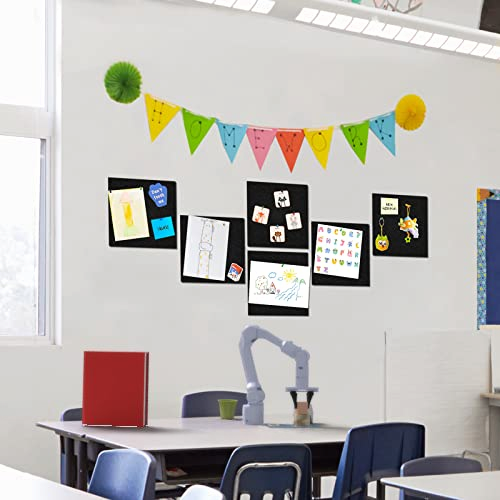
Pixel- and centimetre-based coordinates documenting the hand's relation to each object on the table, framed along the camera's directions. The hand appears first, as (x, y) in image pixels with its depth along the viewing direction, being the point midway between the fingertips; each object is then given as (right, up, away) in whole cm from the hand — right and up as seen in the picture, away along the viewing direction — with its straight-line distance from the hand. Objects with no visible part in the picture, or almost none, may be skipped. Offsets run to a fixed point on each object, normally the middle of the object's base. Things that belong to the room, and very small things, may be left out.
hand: (301, 408), depth 445 cm
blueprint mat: (-4, -8, -3) cm, 9 cm away
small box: (+2, -7, +14) cm, 15 cm away
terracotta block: (0, -2, 0) cm, 2 cm away
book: (-81, -6, -10) cm, 82 cm away
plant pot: (-33, -10, +31) cm, 46 cm away
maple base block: (0, -7, -1) cm, 7 cm away
